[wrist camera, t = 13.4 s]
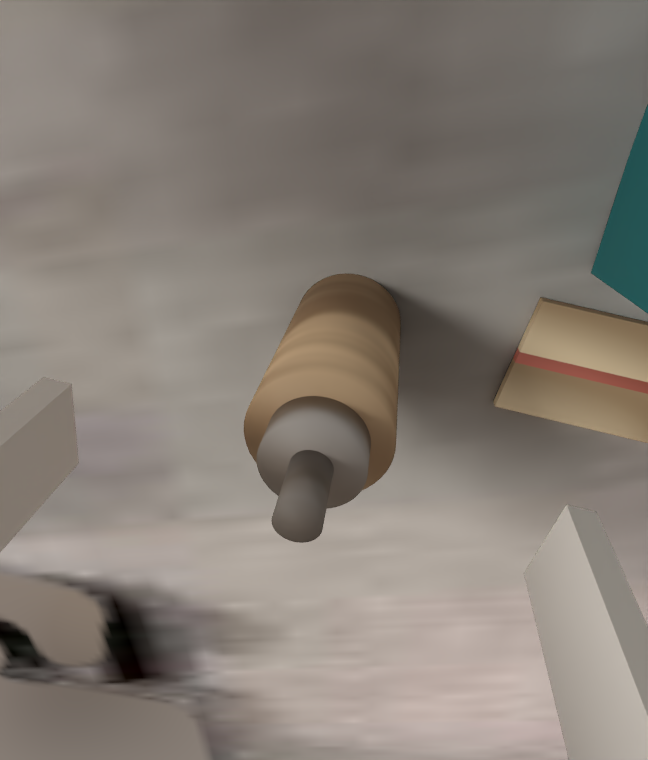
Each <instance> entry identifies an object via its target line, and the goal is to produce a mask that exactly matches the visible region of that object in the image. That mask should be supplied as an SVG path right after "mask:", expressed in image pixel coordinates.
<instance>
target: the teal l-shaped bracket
mask: <svg viewBox="0 0 648 760" xmlns="http://www.w3.org/2000/svg"><path fill="white" fill-rule="evenodd" d="M591 273H592V274H593V275H595V276H596V277H597V278H599V279H600V280H602V281H603V282H604V283H606V284H607V285H609V286H610V287H611V288H613V289H614V290H616V291H617V292H618V293H620V294H621V295H623V296H624V297H625V298H627V299H628V300H630V301H631V302H633V303H634V304H635V305H637V306H638V307H640V308H641V309H642V310H644V311H645V312H647V313H648V105H647V107H646V110H645V113H644V116H643V119H642V121H641V124H640V127H639V130H638V132H637V135H636V138H635V141H634V144H633V146H632V149H631V152H630V155H629V157H628V160H627V164H626V167H625V170H624V173H623V176H622V179H621V182H620V185H619V188H618V191H617V194H616V197H615V200H614V204H613V207H612V210H611V213H610V216H609V219H608V222H607V225H606V228H605V231H604V234H603V237H602V241H601V244H600V247H599V250H598V253H597V256H596V259H595V262H594V265H593V268H592V271H591Z"/></svg>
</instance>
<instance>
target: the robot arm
mask: <svg viewBox="0 0 648 760" xmlns="http://www.w3.org/2000/svg"><path fill="white" fill-rule="evenodd" d="M78 463H79V459H78V448H77V437H76V427H75V416H74V405H73V394H72V384H70V383H66V382H61V381H57V380H53V379H49V378H45V377H43V378H42V379H41V380H39V381H38V382H37V383H35V384H34V385H33V386H32V387H30V388H29V389H28V390H27V391H25V392H24V393H23V394H22V395H20V396H19V397H18V398H16V399H15V400H14V401H13V402H11V403H10V404H9V405H8V406H6V407H5V408H4V409H3V410H1V411H0V552H1V551H2V550H3V549H4V548H5V546H6V545H7V544H8V543H9V542H10V541H11V540H12V538H13V537H14V536H15V535H16V534H17V533H18V532H19V530H20V529H21V528H22V527H23V526H24V525H25V524H26V522H27V521H28V520H29V519H30V518H31V517H32V516H33V515H34V513H35V512H36V511H37V510H38V509H39V508H40V507H41V505H42V504H43V503H44V502H45V501H46V500H47V499H48V497H49V496H50V495H51V494H52V493H53V492H54V491H55V490H56V488H57V487H58V486H59V485H60V484H61V483H62V482H63V480H64V479H65V478H66V477H67V476H68V475H69V474H70V472H71V471H72V470H73V469H74V468H75V467H76V466H77V465H78ZM524 576H525V580H526V584H527V588H528V592H529V597H530V601H531V605H532V609H533V613H534V617H535V622H536V626H537V630H538V634H539V638H540V642H541V647H542V651H543V655H544V659H545V663H546V667H547V671H548V676H549V680H550V684H551V688H552V692H553V696H554V701H555V705H556V709H557V713H558V717H559V721H560V726H561V730H562V734H563V738H564V742H565V746H566V750H567V755H568V759H569V760H648V626H647V624H646V622H645V619H644V617H643V615H642V613H641V611H640V608H639V606H638V604H637V602H636V599H635V597H634V595H633V593H632V590H631V588H630V586H629V584H628V581H627V579H626V577H625V575H624V573H623V570H622V568H621V566H620V564H619V561H618V559H617V557H616V555H615V552H614V550H613V548H612V546H611V543H610V541H609V539H608V537H607V534H606V532H605V530H604V528H603V526H602V523H601V521H600V519H599V517H598V514H597V512H596V511H591V510H587V509H583V508H579V507H575V506H571V505H566V506H565V508H564V509H563V511H562V513H561V514H560V516H559V517H558V519H557V521H556V522H555V524H554V525H553V527H552V529H551V530H550V532H549V534H548V535H547V537H546V538H545V540H544V542H543V543H542V545H541V546H540V548H539V550H538V551H537V553H536V554H535V556H534V558H533V559H532V561H531V563H530V564H529V566H528V567H527V569H526V571H525V572H524Z"/></svg>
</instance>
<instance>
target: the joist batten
mask: <svg viewBox="0 0 648 760" xmlns="http://www.w3.org/2000/svg"><path fill="white" fill-rule="evenodd" d="M493 402H494V405H495V407H499V408H503V409H507V410H512V411H516V412H520V413H524V414H528V415H533V416H537V417H541V418H545V419H549V420H553V421H558V422H562V423H566V424H570V425H574V426H578V427H583V428H587V429H591V430H595V431H599V432H603V433H608V434H612V435H616V436H620V437H624V438H628V439H633V440H637V441H641V442H645V443H648V322H645V321H640V320H636V319H632V318H627V317H623V316H619V315H615V314H610V313H606V312H602V311H597V310H593V309H589V308H584V307H580V306H576V305H572V304H567V303H563V302H559V301H554V300H550V299H546V298H540V300H539V302H538V304H537V306H536V309H535V311H534V313H533V315H532V317H531V320H530V322H529V324H528V326H527V328H526V331H525V333H524V335H523V337H522V339H521V342H520V344H519V346H518V348H517V351H516V353H515V355H514V357H513V359H512V362H511V364H510V366H509V368H508V370H507V373H506V375H505V377H504V379H503V381H502V384H501V386H500V388H499V390H498V392H497V395H496V397H495V399H494V401H493Z"/></svg>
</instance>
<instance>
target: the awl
mask: <svg viewBox="0 0 648 760" xmlns="http://www.w3.org/2000/svg"><path fill="white" fill-rule="evenodd" d="M400 329H401V320H400V314H399V310H398V307H397V305H396V303H395V301H394V299H393V298H392V296H391V295H390V293H389V292H388V291H387V290H386V289H385V288H384V287H382V286H381V285H380V284H378V283H377V282H375V281H374V280H371V279H369V278H367V277H364V276H361V275H355V274H338V275H333V276H330V277H327V278H324V279H322V280H321V281H319V282H317V283H316V284H314V285H313V286H312V287H311V288H310V289H309V290H308V291H307V292H306V294H305V295H304V297H303V298H302V300H301V302H300V304H299V306H298V308H297V310H296V312H295V314H294V316H293V318H292V320H291V322H290V324H289V326H288V328H287V330H286V332H285V334H284V337H283V339H282V341H281V343H280V345H279V347H278V349H277V351H276V353H275V355H274V357H273V359H272V361H271V363H270V365H269V367H268V369H267V371H266V373H265V375H264V377H263V379H262V381H261V383H260V385H259V387H258V389H257V391H256V393H255V395H254V397H253V399H252V401H251V403H250V405H249V408H248V410H247V413H246V416H245V421H244V435H245V440H246V444H247V447H248V449H249V452H250V454H251V455H252V457H253V459H254V460H255V462H256V463H257V467H258V471H259V473H260V475H261V477H262V479H263V481H264V482H265V483H266V485H267V486H268V487H269V488H270V489H271V490H272V491H273V492H274V493H275V494H277V495H278V496H279V497H278V500H277V503H276V507H275V510H274V513H273V516H272V525H273V528H274V529H275V531H276V532H277V533H278V534H279V535H281V536H282V537H284V538H285V539H288V540H290V541H294V542H309V541H312V540H314V539H316V538H317V537H319V535H320V534H321V532H322V528H323V523H324V518H325V513H326V508H333V507H337V506H340V505H343V504H345V503H347V502H349V501H351V500H352V499H354V498H355V497H356V496H357V495H358V494H359V493H360V492H361V490H364V489H366V488H368V487H369V486H371V485H372V484H374V483H375V482H376V481H378V480H379V479H380V478H381V477H382V476H383V475H384V474H385V473H386V471H387V470H388V468H389V467H390V465H391V462H392V460H393V458H394V454H395V448H396V429H397V404H398V379H399V354H400Z"/></svg>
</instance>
